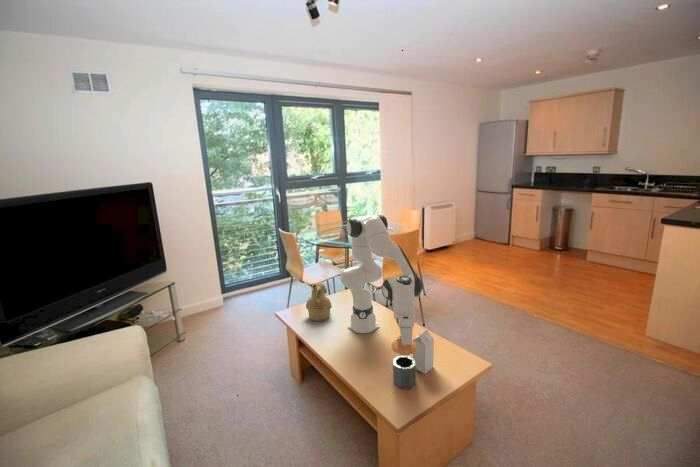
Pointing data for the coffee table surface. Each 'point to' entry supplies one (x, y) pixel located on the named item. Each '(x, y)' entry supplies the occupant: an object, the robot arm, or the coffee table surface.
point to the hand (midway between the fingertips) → (404, 342)
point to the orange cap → (403, 347)
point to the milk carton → (424, 352)
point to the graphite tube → (404, 372)
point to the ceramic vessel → (319, 303)
